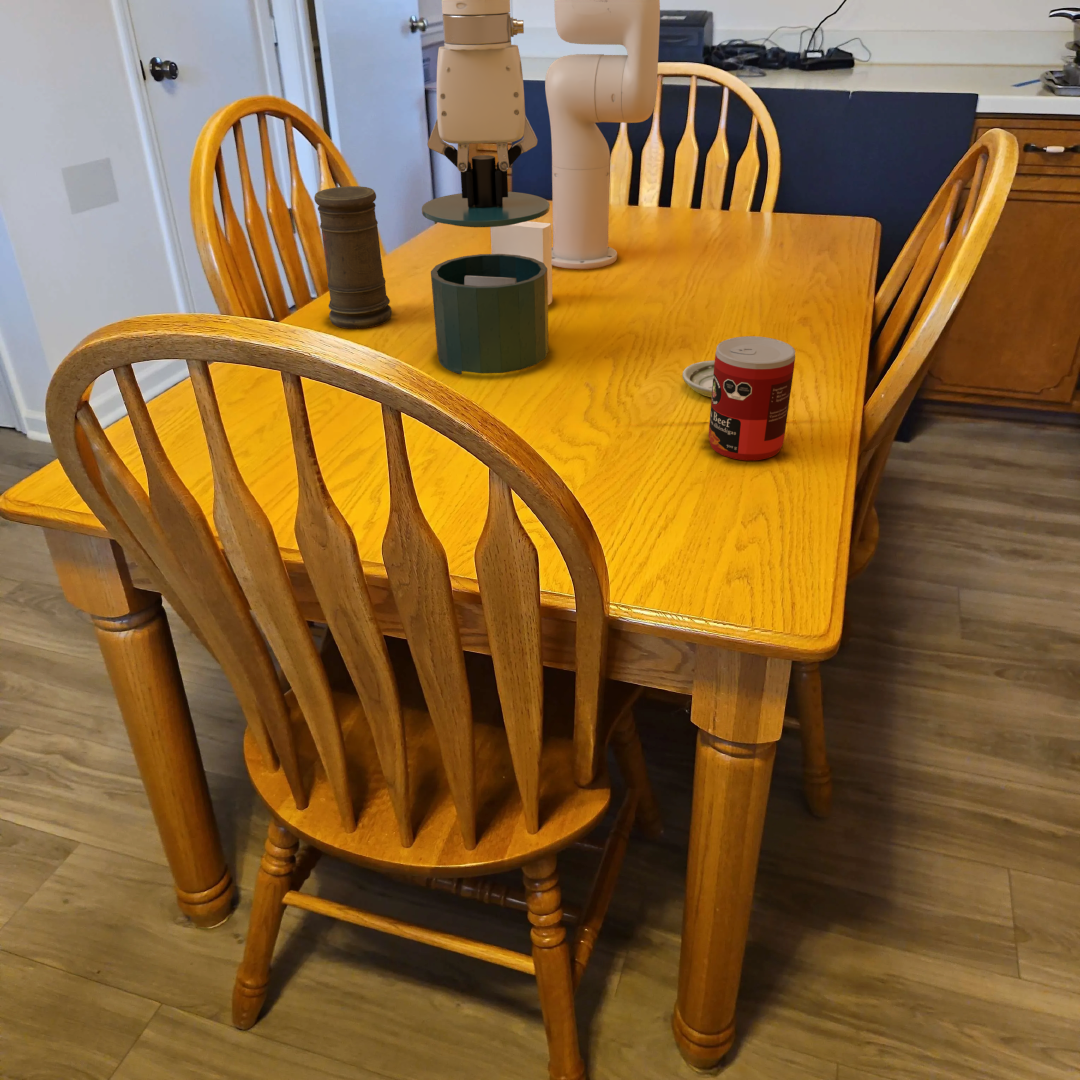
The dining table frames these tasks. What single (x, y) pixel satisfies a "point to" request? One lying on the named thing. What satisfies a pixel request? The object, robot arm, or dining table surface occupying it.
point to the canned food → (750, 397)
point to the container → (353, 257)
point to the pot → (490, 314)
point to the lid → (485, 202)
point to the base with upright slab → (525, 244)
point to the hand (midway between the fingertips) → (485, 202)
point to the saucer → (700, 377)
